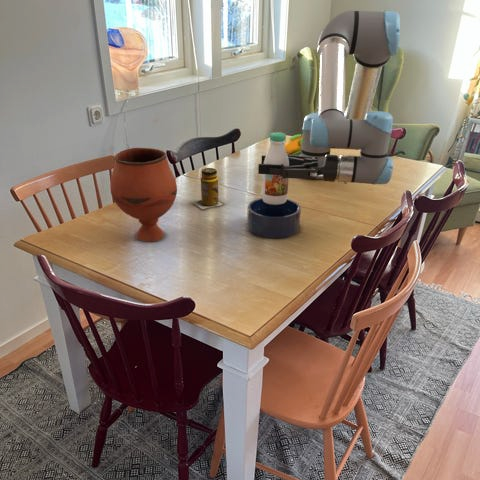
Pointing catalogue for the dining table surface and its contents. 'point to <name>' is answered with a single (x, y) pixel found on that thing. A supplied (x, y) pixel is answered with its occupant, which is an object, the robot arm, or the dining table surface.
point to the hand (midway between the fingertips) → (260, 164)
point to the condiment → (208, 189)
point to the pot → (273, 219)
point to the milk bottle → (275, 184)
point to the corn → (294, 144)
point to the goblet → (144, 188)
